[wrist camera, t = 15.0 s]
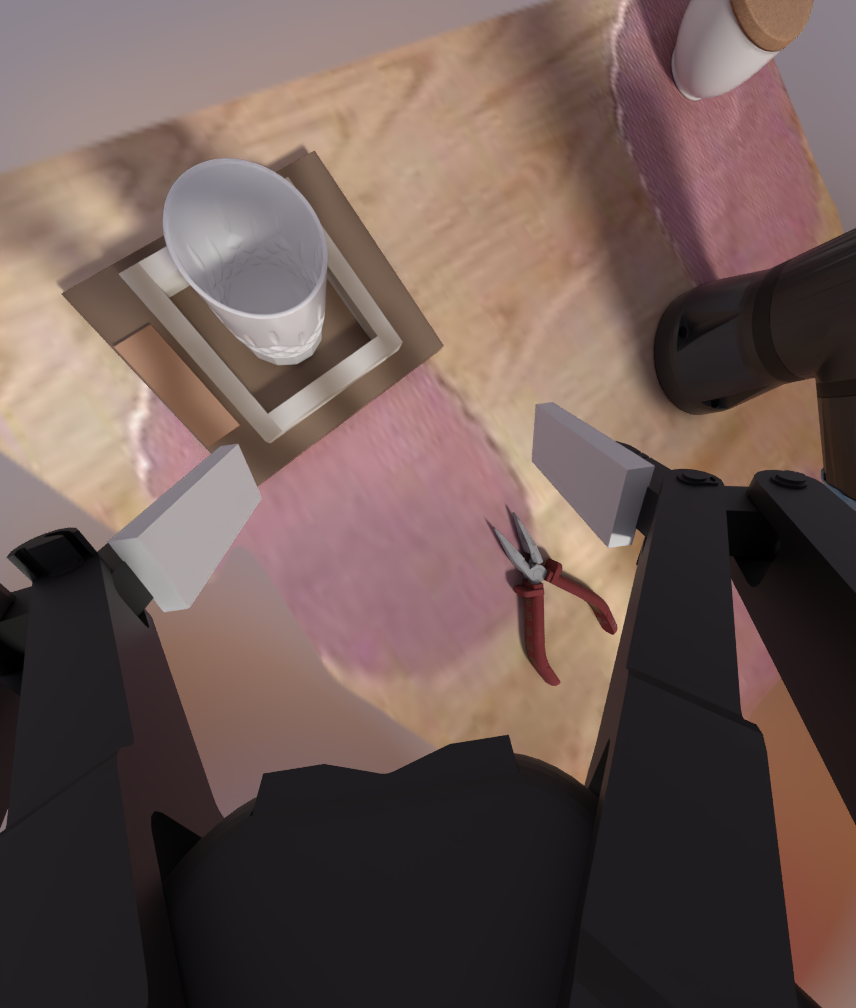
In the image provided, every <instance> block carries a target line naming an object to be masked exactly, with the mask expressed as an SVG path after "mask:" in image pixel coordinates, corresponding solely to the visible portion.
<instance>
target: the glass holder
mask: <svg viewBox="0 0 856 1008" xmlns="http://www.w3.org/2000/svg"><path fill="white" fill-rule="evenodd" d="M276 173H277V174H279V175H280V176H282V177H283V178H285V179H286V180H287V181H288V182H290V183H291V184H292V185H293V186H294V187H295V188H296V189H297V190H298V191H299V192H300V193H301V194H302V195H303V196H304V197H305V199H306V200H307V201H308V202H309V204H310V205H311V207H312V208H313V210H314V212H315V213H316V215H317V217H318V219H319V221H320V224H321V226H322V229H323V232H324V235H325V239H326V244H327V253H328V261H327V281H326V303H325V315H324V322H323V326H322V340H321V342H320V343H319V345H318V347H317V349H316V350H315V352H314V354H313V355H312V356H310V357H309V358H307V359H305V360H304V361H302V362H300V363H298V364H294V365H275V364H273V363H270V362H267V361H265V360H262V359H259V358H258V357H257V356H255V355H254V354H253V353H252V352H251V351H250V350H249V349H248V348H247V347H246V346H245V345H243V344H242V342H240V341H239V340H238V339H237V338H236V337H235V336H234V335H233V334H232V333H231V331H230V330H229V329H228V328H227V327H226V326H225V325H224V324H223V323H222V322H221V321H220V320H219V318H218V317H217V316H216V315H215V314H214V313H213V311H212V310H211V309H210V308H209V307H208V305H207V304H206V303H205V302H204V301H203V300H202V298H201V297H200V296H199V295H198V294H197V293H196V291H195V290H194V289H193V288H192V287H191V286H190V284H189V283H188V282H187V281H186V280H185V279H184V277H183V276H182V275H181V273H180V272H179V270H178V269H177V267H176V265H175V264H174V262H173V260H172V258H171V256H170V253H169V251H168V248H167V245H166V242H165V238H164V236H163V237H161V238H159V239H157V240H155V241H154V242H152V243H150V244H148V245H147V246H145V247H143V248H141V249H140V250H138V251H136V252H134V253H132V254H131V255H129V256H127V257H125V258H124V259H122V260H120V261H118V262H117V263H115V264H113V265H111V266H109V267H108V268H106V269H104V270H102V271H101V272H99V273H97V274H95V275H93V276H92V277H90V278H88V279H86V280H85V281H83V282H81V283H79V284H78V285H76V286H74V287H72V288H70V289H69V290H67V291H65V292H63V293H62V295H63V296H64V297H65V298H66V299H67V301H68V302H69V303H70V304H71V305H72V306H73V307H74V308H75V309H76V310H77V311H78V312H79V313H80V314H81V315H82V317H83V318H84V319H85V320H86V321H87V322H88V323H89V324H90V325H91V326H92V327H93V328H94V329H95V330H96V331H97V332H98V334H99V335H100V336H101V337H102V338H103V339H104V340H105V341H106V342H107V343H108V344H109V345H110V346H111V347H112V348H113V350H114V351H115V352H116V353H117V354H118V355H119V356H120V357H121V358H122V359H123V360H124V361H125V362H126V363H127V364H128V366H129V367H130V368H131V369H132V370H133V371H134V372H135V373H136V374H137V375H138V376H139V377H140V378H141V379H142V380H143V382H144V383H145V384H146V385H147V386H148V387H149V388H150V389H151V390H152V391H153V392H154V393H155V394H156V395H157V396H158V398H159V399H160V400H161V401H162V402H163V403H164V404H165V405H166V406H167V407H168V408H169V409H170V410H171V411H172V412H173V414H174V415H175V416H176V417H177V418H178V419H179V420H180V421H181V422H182V423H183V424H184V425H185V426H186V427H187V428H188V430H189V431H190V432H191V433H192V434H193V435H194V436H195V437H196V438H197V439H198V440H199V441H200V442H201V443H202V444H203V446H204V447H205V448H206V449H207V450H208V451H209V452H210V453H211V454H212V453H213V452H214V451H215V450H216V449H218V448H219V447H220V446H225V445H233V444H239V447H240V449H241V451H242V454H243V456H244V458H245V460H246V463H247V465H248V467H249V469H250V472H251V474H252V476H253V479H254V481H255V483H256V485H257V486H259V485H260V484H261V483H263V482H264V481H265V480H267V479H268V478H269V477H271V476H272V475H273V474H275V473H276V472H278V471H279V470H280V469H282V468H283V467H284V466H286V465H287V464H288V463H290V462H291V461H292V460H294V459H295V458H296V457H298V456H299V455H300V454H302V453H303V452H304V451H306V450H307V449H308V448H310V447H311V446H312V445H314V444H315V443H316V442H318V441H319V440H320V439H322V438H323V437H324V436H326V435H327V434H328V433H330V432H331V431H332V430H334V429H335V428H336V427H338V426H339V425H340V424H342V423H343V422H344V421H346V420H347V419H348V418H350V417H351V416H352V415H354V414H355V413H356V412H358V411H359V410H360V409H362V408H363V407H364V406H366V405H367V404H369V403H370V402H371V401H373V400H374V399H375V398H377V397H378V396H379V395H381V394H382V393H383V392H385V391H386V390H387V389H389V388H390V387H391V386H393V385H394V384H395V383H397V382H398V381H399V380H401V379H402V378H403V377H405V376H406V375H407V374H409V373H410V372H411V371H413V370H414V369H415V368H417V367H418V366H419V365H421V364H422V363H423V362H425V361H426V360H427V359H429V358H430V357H431V356H433V355H434V354H435V353H437V352H438V351H439V350H440V349H441V348H442V347H443V346H444V345H443V344H442V342H441V341H440V339H439V338H438V336H437V335H436V333H435V332H434V330H433V329H432V327H431V326H430V324H429V323H428V321H427V320H426V318H425V317H424V315H423V314H422V312H421V311H420V309H419V308H418V306H417V304H416V303H415V301H414V300H413V298H412V297H411V295H410V294H409V292H408V291H407V289H406V288H405V286H404V285H403V283H402V282H401V280H400V279H399V277H398V276H397V274H396V273H395V271H394V270H393V268H392V267H391V265H390V264H389V262H388V261H387V259H386V258H385V256H384V255H383V253H382V252H381V250H380V249H379V247H378V246H377V244H376V243H375V241H374V240H373V238H372V237H371V235H370V234H369V232H368V230H367V229H366V227H365V226H364V224H363V223H362V221H361V220H360V218H359V217H358V215H357V214H356V212H355V211H354V209H353V208H352V206H351V205H350V203H349V202H348V200H347V199H346V197H345V196H344V194H343V193H342V191H341V190H340V188H339V187H338V185H337V184H336V182H335V181H334V179H333V178H332V176H331V175H330V173H329V172H328V170H327V169H326V167H325V166H324V164H323V163H322V161H321V160H320V158H319V156H318V155H317V153H316V152H315V151H313V152H311V153H310V154H308V155H306V156H304V157H302V158H301V159H299V160H297V161H295V162H294V163H292V164H290V165H288V166H287V167H285V168H283V169H281V170H279V171H278V172H276Z"/></svg>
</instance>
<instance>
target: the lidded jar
mask: <svg viewBox="0 0 856 1008" xmlns="http://www.w3.org/2000/svg"><path fill="white" fill-rule="evenodd" d="M812 6H813V0H690V2H689V5H688V7H687V9H686V11H685V14H684V16H683V19H682V22H681V25H680V28H679V32H678V36H677V41H676V47H675V48H674V51H673V54H672V59H671V68H672V75H673V78H674V81H675V84H676V86H677V88H678V90H679V91H680V92H681V94H682V95H683V96H684V97H686V98H687V99H689V100H692V101H699V100H701V99H702V98H712V97H717V96H720V95H723V94H725V93H727V92H729V91H731V90H733V89H735V88H736V87H738V86H739V85H741V84H742V83H743V82H745V81H746V80H747V79H749V78H750V77H751V76H752V75H754V74H755V73H756V72H757V71H759V70H760V69H761V68H762V67H763V66H765V65H766V64H767V63H768V62H769V61H770V60H771V59H772V58H773V57H774V56H775V55H776V54H778V52H780V51H781V50H782V49H784V48H785V47H786V46H787V45H789V44H790V43H791V42H792V41H793V40H794V39H795V38H796V37H797V36H798V35H799V34H800V33H801V32H802V30H803V29H804V27H805V25H806V23H807V22H808V19H809V17H810V14H811V10H812Z"/></svg>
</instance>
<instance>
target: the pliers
mask: <svg viewBox="0 0 856 1008" xmlns="http://www.w3.org/2000/svg"><path fill="white" fill-rule="evenodd" d="M513 517H514V521H515V524H516V528H517V532H518V535H519V539H520V542H521V545H522V548H523V551H524V552H527V553H530V559H529V561H527V562H526V561H525V559H524V558H523V556H522V555H521V554H520V553H519V552H518V551H517V550H516V549H515V548H514V547H513V546H512V545H511V544H510V543H509V542H508V541H507V540H506V539H505V537H504V536H503V535H502V534H501V533H500V532H499V531H498V530H497V529H496V528H494V527H493V529H494V531H495V533H496V535H497V537H498V538H499V540H500V542H501V544H502V546H503V548H504V550H505V552H506V554H507V556H508V558H509V559H510V561H511V562H512V563H513V564H514V566H515V567H516V568H517V569H518V570H519V571H521V572H523V575H524V578H525V580H523V585H517V586H514V591H515V592H516V593H517V594H519V595H520V596H522V597H525V628H526V646H527V651H528V655H529V658H530V661H531V663H532V664H533V665H534V667H535V668H536V670H537V671H538V672H539V674H540V675H541V677H542V678H543V680H544V681H545V682H546V683H548V684H550V685H552V686H557V685H558V684H560V683H561V682H560V680H559V679H558V677H557V676H556V674H555V673H554V671H553V670H552V668H551V667H550V665H549V663H548V660H547V657H546V652H545V636H544V589H543V583H541V581H543V580H546V581H548V582H550V583H552V584H554V585H556V586H558V587H560V588H562V589H564V590H566V591H568V592H570V593H572V594H574V595H576V596H578V597H580V598H582V599H583V600H584V601H586V602H587V603H588V604H589V605H590V606H591V608H592V609H593V611H594V613H595V615H596V617H597V619H598V621H599V623H600V624H601V626H602V628H603V629H604V630H605V631H606V632H608V633H610V634H612V635H614V634H615V633H616V631H617V624H616V622H615V620H614V618H613V615H612V613H611V611H610V609H609V607H608V605H607V604H606V602H605V601H604V600H603V599H602V598H601V597H600V596H598V595H597V594H596V593H594V592H593V591H591V590H589V589H587V588H585V587H583V586H582V585H580V584H578V583H576V582H574V581H572V580H570V579H568V578H566V577H564V576H562V575H560V573H561V571H562V565H561V564H560V563H558V562H557V561H554V560H552V559H549V558H548V559H547V561H546V563H545V565H544V567H543V566H542V565H540V563H542V562H543V560H542V557H541V555H540V553H539V550H538V548H537V546H536V544H535V543H534V541H533V540H532V538H531V537H530V535H529V534H528V532H527V531H526V529H525V527H524V526H523V524H522V523H521V521H520V520H519V518H518V517H517V515H516V514H515V513H514V512H513Z"/></svg>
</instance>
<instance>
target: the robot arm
mask: <svg viewBox="0 0 856 1008" xmlns="http://www.w3.org/2000/svg"><path fill="white" fill-rule="evenodd" d="M655 364H656V370H657V374H658V377H659V381H660V383H661V385H662V388H663V390H664V391H665V393H666V395H667V396H668V398H669V399H670V400H671V401H672V402H673V403H674V404H675V405H676V406H677V407H678V408H680V409H681V410H683V411H685V412H687V413H690V414H695V415H703V414H709V413H715V412H721V411H725V410H728V409H731V408H733V407H735V406H737V405H739V404H742V403H744V402H746V401H748V400H750V399H753V398H755V397H757V396H759V395H761V394H763V393H766V392H768V391H770V390H772V389H774V388H777V387H779V386H781V385H783V384H787V383H791V382H796V381H801V380H805V379H810V378H815V380H816V389H817V401H818V412H819V423H820V434H821V444H822V455H823V466H824V468H823V469H822V470H821V479H822V482H823V483H824V484H822V483H821V482H819V481H817V480H816V479H814V478H811V477H808V476H805V474H802V473H799V472H796V473H795V472H794V471H789V470H785V471H780V470H765V471H760V472H757V473H756V474H755V475H754V477H753V479H752V481H751V483H750V485H749V487H739V486H724V484H723V482H722V480H721V479H719V478H718V477H716V476H714V475H712V474H709V473H706V472H703V471H698V470H692V469H675V470H670V469H669V468H667V467H665V466H664V465H662V464H660V463H659V462H657V461H655V460H654V459H652V458H649V456H647V455H646V454H644V453H641V451H639V450H637V449H636V448H634V447H632V446H630V445H627V444H624V443H621V442H618V441H614V440H612V439H611V438H609V437H608V436H606V435H604V434H603V433H601V432H600V431H598V430H596V429H595V428H593V427H592V426H590V425H588V424H587V423H585V422H584V421H582V420H580V419H579V418H577V417H576V416H574V415H572V414H571V413H569V412H568V411H566V410H564V409H563V408H561V407H560V406H558V405H556V404H555V403H553V402H551V403H543V404H536V409H535V423H534V436H533V450H532V462H533V463H534V464H535V465H536V467H537V468H538V469H539V470H540V471H541V472H542V473H543V475H544V476H545V477H546V478H547V479H548V480H549V481H550V482H551V484H552V485H553V486H554V487H555V488H556V489H557V490H558V492H559V493H560V494H561V495H562V496H563V497H564V498H565V500H566V501H567V502H568V503H569V504H570V505H571V506H572V508H573V509H574V510H575V511H576V512H577V513H578V514H579V515H580V517H581V518H582V519H583V520H584V521H585V522H586V523H587V525H588V526H589V527H590V528H591V529H592V530H593V531H594V533H595V534H596V535H597V536H598V537H599V538H600V539H601V540H602V542H603V543H604V544H605V545H606V546H607V547H608V548H611V547H618V546H625V545H632V542H633V538H634V535H635V531H636V528H637V529H638V530H639V531H640V532H641V533H642V534H643V535H644V536H645V538H644V541H643V544H642V547H641V551H640V554H639V557H638V560H637V563H636V565H637V570H636V574H635V578H634V582H633V587H632V591H631V595H630V600H629V604H628V608H627V613H626V617H625V621H624V626H623V630H622V634H621V638H620V643H619V647H618V651H617V656H616V660H615V664H614V669H613V673H612V677H611V682H610V686H609V690H608V695H607V699H606V703H605V707H604V712H603V716H602V720H601V725H600V729H599V733H598V738H597V742H596V746H595V749H594V753H593V757H592V760H591V763H590V767H589V770H588V774H587V778H586V782H585V786H584V785H583V784H581V783H580V782H579V781H577V780H576V779H575V778H573V777H572V776H570V775H569V774H567V773H565V772H564V771H562V770H560V769H559V768H557V767H555V766H553V765H551V764H548V763H546V762H544V761H542V760H539V759H536V758H533V757H529V756H526V755H522V754H516V753H513V749H512V745H511V742H510V738H509V735H504V736H498V737H492V738H485V739H479V740H473V741H466V742H460V743H454V744H449V745H447V746H445V747H443V748H441V749H439V750H437V751H435V752H433V753H430V754H428V755H426V756H424V757H422V758H420V759H418V760H416V761H414V762H412V763H410V764H408V765H406V766H404V767H402V768H400V769H398V770H396V771H394V772H391V773H388V774H379V773H374V772H368V771H362V770H356V769H350V768H344V767H338V766H333V765H327V764H321V765H315V766H309V767H303V768H296V769H290V770H284V771H277V772H271V773H264V774H263V777H262V780H261V784H260V788H259V791H258V795H257V797H256V798H254V799H252V800H250V801H249V802H247V803H246V804H244V805H242V806H241V807H239V808H237V809H236V810H235V811H233V812H232V813H231V814H229V815H228V816H227V817H225V818H224V817H223V816H222V814H221V813H220V811H219V809H218V807H217V805H216V803H215V800H214V798H213V795H212V792H211V789H210V786H209V783H208V780H207V777H206V774H205V771H204V768H203V766H202V762H201V759H200V757H199V754H198V751H197V748H196V745H195V742H194V739H193V736H192V733H191V730H190V727H189V725H188V722H187V718H186V715H185V713H184V710H183V707H182V704H181V701H180V698H179V695H178V692H177V689H176V686H175V683H174V680H173V678H172V675H171V672H170V669H169V666H168V663H167V660H166V657H165V654H164V651H163V648H162V646H161V642H160V639H159V637H158V633H157V631H156V628H155V625H154V622H153V619H152V617H151V615H150V614H149V613H148V612H147V611H146V610H145V607H146V606H147V605H148V604H149V603H150V601H151V600H152V599H154V600H155V602H156V603H157V604H158V605H159V606H160V608H161V609H162V610H163V611H164V612H168V611H175V610H182V609H188V608H190V607H191V605H192V603H193V602H194V600H195V599H196V597H197V596H198V594H199V593H200V591H201V590H202V588H203V587H204V585H205V584H206V582H207V581H208V579H209V578H210V576H211V575H212V573H213V572H214V570H215V569H216V567H217V566H218V564H219V562H220V561H221V559H222V558H223V556H224V555H225V553H226V552H227V550H228V549H229V547H230V546H231V544H232V543H233V541H234V540H235V538H236V537H237V535H238V534H239V532H240V531H241V529H242V528H243V526H244V525H245V523H246V521H247V520H248V518H249V517H250V515H251V514H252V512H253V511H254V509H255V508H256V506H257V505H258V503H259V502H260V500H261V499H262V497H261V495H260V492H259V490H258V488H257V485H256V483H255V481H254V479H253V476H252V474H251V472H250V469H249V467H248V465H247V463H246V460H245V458H244V456H243V454H242V451H241V449H240V447H239V444H233V445H225V446H220V447H219V448H218V449H216V450H215V451H214V452H213V453H212V454H211V455H209V456H208V457H207V458H206V459H205V460H203V461H202V462H201V463H200V464H199V465H198V466H196V467H195V468H194V469H193V470H192V471H190V472H189V473H188V474H187V475H186V476H185V477H183V478H182V479H181V480H180V481H179V482H177V483H176V484H175V485H174V486H173V487H172V488H170V489H169V490H168V491H167V492H166V493H164V494H163V495H162V496H161V497H160V498H159V499H157V500H156V501H155V502H154V503H153V504H151V505H150V506H149V507H148V508H147V509H146V510H144V511H143V512H142V513H141V514H140V515H138V516H137V517H136V518H135V519H134V520H133V521H131V522H130V523H129V524H128V525H127V526H125V527H124V528H123V529H122V530H121V531H120V532H118V533H117V534H116V535H115V536H114V537H112V538H111V539H110V540H109V541H108V543H107V544H106V545H105V546H104V547H102V548H101V549H100V550H99V551H98V552H96V550H95V549H94V548H93V547H92V546H91V544H90V543H89V542H88V541H87V540H86V539H85V537H84V536H83V535H82V534H81V533H80V531H79V530H78V529H76V528H64V529H58V530H55V531H52V532H49V533H45V534H43V535H40V536H38V537H36V538H33V539H31V540H29V541H27V542H25V543H24V544H22V545H20V546H18V547H17V548H16V549H14V550H13V551H11V553H10V554H9V555H8V556H7V558H8V559H9V560H10V561H11V562H12V563H13V564H14V565H15V566H16V567H17V568H18V569H19V570H20V571H21V572H22V573H23V574H25V575H26V576H27V577H28V578H29V579H30V580H31V581H32V586H31V587H28V588H24V589H21V590H18V591H14V592H10V591H9V590H7V589H6V588H5V587H4V586H3V585H2V584H0V827H1V825H2V822H3V820H4V817H5V815H6V812H7V809H8V816H7V825H6V829H5V830H4V831H2V832H1V833H0V1008H822V1007H821V1006H819V1005H818V1004H817V1003H816V1002H815V1001H814V1000H813V999H812V998H811V997H810V996H809V995H808V994H807V993H805V991H803V990H802V989H801V988H800V987H799V986H798V985H797V984H796V983H795V981H794V972H793V964H792V956H791V948H790V940H789V931H788V923H787V915H786V906H785V898H784V890H783V881H782V874H781V865H780V857H779V849H778V840H777V832H776V824H775V815H774V807H773V799H772V792H771V782H770V774H769V766H768V757H767V750H766V746H765V742H764V737H763V734H762V732H761V731H760V730H759V728H758V726H757V725H756V724H754V723H751V722H749V721H747V720H745V719H744V718H743V717H742V713H741V706H740V693H739V679H738V666H737V652H736V639H735V625H734V612H733V598H732V585H731V579H732V581H733V583H734V585H735V587H736V589H737V591H738V593H739V595H740V597H741V599H742V601H743V603H744V605H745V607H746V609H747V611H748V613H749V615H750V617H751V619H752V621H753V623H754V625H755V627H756V629H757V631H758V633H759V635H760V637H761V639H762V641H763V643H764V644H765V646H766V648H767V650H768V652H769V654H770V656H771V658H772V660H773V662H774V664H775V666H776V668H777V670H778V672H779V674H780V676H781V678H782V680H783V682H784V684H785V686H786V688H787V690H788V692H789V694H790V696H791V698H792V700H793V702H794V704H795V706H796V708H797V710H798V712H799V714H800V716H801V718H802V720H803V722H804V724H805V726H806V728H807V730H808V732H809V734H810V735H811V738H812V740H813V742H814V743H815V745H816V747H817V749H818V751H819V753H820V755H821V757H822V759H823V761H824V763H825V765H826V767H827V769H828V771H829V773H830V775H831V777H832V779H833V781H834V783H835V785H836V787H837V789H838V791H839V793H840V795H841V797H842V799H843V801H844V803H845V805H846V807H847V809H848V811H849V813H850V815H851V817H852V819H853V821H854V823H855V825H856V228H855V229H853V230H851V231H849V232H847V233H844V234H842V235H840V236H838V237H836V238H834V239H832V240H830V241H828V242H826V243H824V244H821V245H819V246H817V247H815V248H813V249H811V250H809V251H807V252H804V253H802V254H800V255H798V256H796V257H794V258H792V259H790V260H788V261H786V262H784V263H781V264H779V265H777V266H775V267H773V268H770V269H767V270H762V271H758V272H753V273H748V274H743V275H738V276H733V277H728V278H724V279H719V280H714V281H710V282H707V283H704V284H701V285H699V286H697V287H695V288H694V289H692V290H690V291H688V292H686V293H684V294H682V295H680V296H679V297H678V298H676V299H675V300H674V301H673V302H672V303H671V304H670V305H669V307H668V308H667V310H666V311H665V313H664V315H663V317H662V319H661V321H660V324H659V327H658V330H657V334H656V340H655Z"/></svg>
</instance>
